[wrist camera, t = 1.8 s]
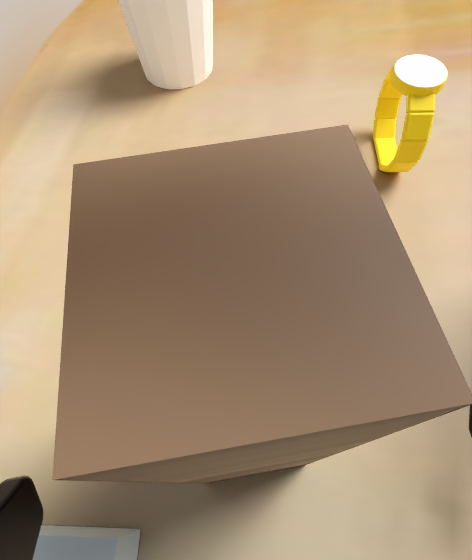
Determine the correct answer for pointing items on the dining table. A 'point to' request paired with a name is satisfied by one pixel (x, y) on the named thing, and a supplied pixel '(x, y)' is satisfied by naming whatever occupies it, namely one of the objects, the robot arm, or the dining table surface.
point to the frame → (86, 543)
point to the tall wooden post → (239, 314)
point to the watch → (407, 110)
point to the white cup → (172, 39)
